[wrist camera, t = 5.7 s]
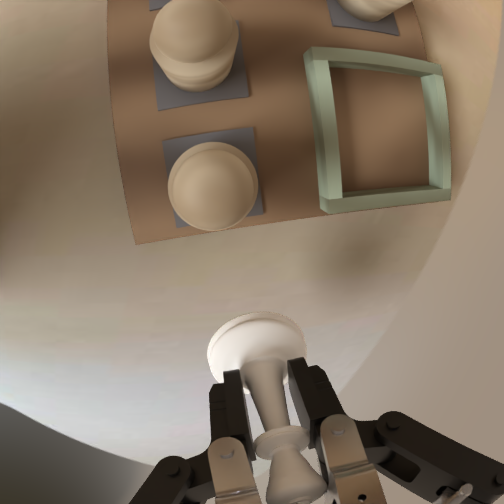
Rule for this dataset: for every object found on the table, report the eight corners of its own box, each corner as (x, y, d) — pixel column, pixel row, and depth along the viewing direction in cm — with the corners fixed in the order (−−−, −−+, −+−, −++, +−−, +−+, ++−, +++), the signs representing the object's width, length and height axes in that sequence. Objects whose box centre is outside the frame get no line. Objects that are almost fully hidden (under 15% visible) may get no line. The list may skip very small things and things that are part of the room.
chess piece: (196, 377, 14) (209, 563, 5) (224, 300, 13) (268, 535, 4) (281, 390, 16) (335, 548, 6) (320, 322, 14) (424, 496, 5)
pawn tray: (117, -24, 11) (78, -89, 3) (386, -27, 13) (447, -69, 5) (143, 234, 18) (97, 299, 10) (421, 196, 19) (505, 227, 11)
